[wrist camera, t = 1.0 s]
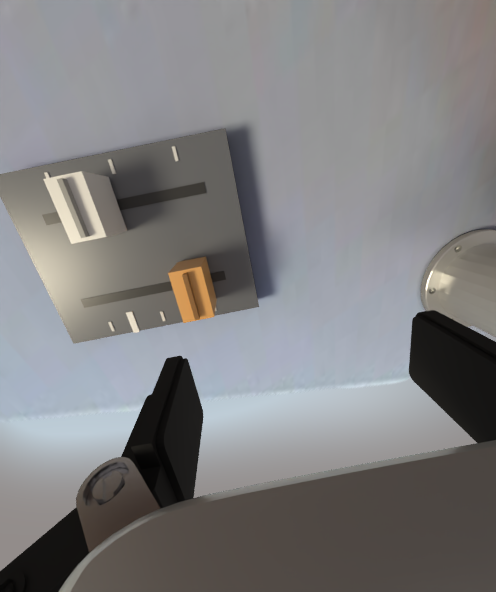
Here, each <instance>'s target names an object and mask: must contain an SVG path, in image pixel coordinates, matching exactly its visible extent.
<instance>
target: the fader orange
mask: <svg viewBox="0 0 496 592" xmlns="http://www.w3.org/2000/svg"><path fill="white" fill-rule="evenodd" d="M168 275H169V278H170V281H171V285H172V288H173V291H174V294H175V297H176V301H177V304H178V307H179V310H180V313H181V317H182V320H183V323H186V322H191V321H196V320H201V319H206V318H211V317H214V315H215V309H216V302H217V299H216V295H215V291H214V287H213V283H212V279H211V275H210V271H209V267H208V263H207V259H206V256H205V257H200V258H195V259H190V260H185V261H180V262H177V264H176V265H175V266H174V267H173V268H172V269H171V270H170V271H169V273H168Z"/></svg>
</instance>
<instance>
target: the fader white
mask: <svg viewBox="0 0 496 592" xmlns="http://www.w3.org/2000/svg"><path fill="white" fill-rule="evenodd" d="M43 180H44V182H45V184H46V187H47V189H48V191H49V194H50V196H51V198H52V201H53V203H54V205H55V207H56V210H57V212H58V214H59V217H60V219H61V221H62V224H63V226H64V228H65V231H66V233H67V235H68V237H69V240H70V242H71V244H74V243H78V242H83V241H88V240H93V239H98V238H103V237H108V236H111V235H115V234H119V233H122V232H126V231H127V229H126V226H125V223H124V220H123V217H122V214H121V212H120V209H119V206H118V203H117V200H116V197H115V194H114V192H113V189H112V186H111V183H110V180H109V177H107V176H102V175H97V174H93V173H88V172H83V171H80V172H75V173H70V174H65V175H61V176H56V177H51V178H46V179H43Z"/></svg>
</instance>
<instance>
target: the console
mask: <svg viewBox="0 0 496 592" xmlns="http://www.w3.org/2000/svg"><path fill="white" fill-rule="evenodd" d="M80 171H83V172H88V173H93V174H97V175H102V176H107V177H109V180H110V183H111V186H112V189H113V192H114V194H115V197H116V200H117V203H118V206H119V209H120V212H121V214H122V217H123V220H124V223H125V226H126V229H127V231H126V232H122V233H119V234H115V235H111V236H108V237H103V238H98V239H93V240H88V241H83V242H78V243H74V244H71V242H70V240H69V237H68V235H67V233H66V231H65V228H64V226H63V224H62V221H61V219H60V217H59V214H58V212H57V210H56V207H55V205H54V203H53V201H52V198H51V196H50V194H49V191H48V189H47V187H46V184H45V182H44V180H43V179H46V178H51V177H56V176H61V175H65V174H70V173H75V172H80ZM0 197H1V199H2V201H3V203H4V205H5V207H6V209H7V211H8V213H9V215H10V217H11V219H12V221H13V223H14V225H15V227H16V229H17V231H18V233H19V235H20V237H21V239H22V241H23V243H24V245H25V247H26V249H27V251H28V253H29V255H30V257H31V259H32V261H33V263H34V265H35V267H36V269H37V271H38V273H39V275H40V277H41V279H42V281H43V283H44V285H45V287H46V289H47V291H48V293H49V295H50V297H51V299H52V301H53V303H54V305H55V307H56V309H57V311H58V313H59V315H60V317H61V319H62V321H63V323H64V325H65V327H66V329H67V331H68V333H69V335H70V337H71V339H72V341H73V343H79V342H84V341H89V340H94V339H99V338H104V337H109V336H114V335H119V334H125V333H130V332H134V333H136V332H140V330H145V329H150V328H155V327H160V326H165V325H170V324H175V323H180V322H183V320H182V317H181V313H180V310H179V307H178V304H177V301H176V297H175V294H174V291H173V288H172V285H171V281H170V278H169V275H168V273H169V271H170V270H171V269H172V268H173V267H174V266H175V265H176V264H177V262H180V261H185V260H190V259H195V258H200V257H205V256H206V259H207V263H208V267H209V271H210V275H211V279H212V283H213V287H214V291H215V295H216V299H217V302H216V309H215V315H220V314H225V313H230V312H235V311H240V310H245V309H250V308H255V307H259V304H258V299H257V294H256V289H255V283H254V278H253V273H252V267H251V262H250V257H249V251H248V246H247V241H246V236H245V230H244V225H243V220H242V214H241V209H240V204H239V198H238V193H237V188H236V182H235V177H234V172H233V167H232V161H231V156H230V151H229V145H228V140H227V135H226V129H220V130H215V131H210V132H205V133H200V134H195V135H190V136H185V137H181V138H176V139H171V140H166V141H161V142H156V143H151V144H146V145H141V146H136V147H132V148H127V149H122V150H117V151H112V152H107V153H102V154H97V155H92V156H87V157H83V158H78V159H73V160H68V161H63V162H58V163H53V164H48V165H43V166H38V167H34V168H29V169H24V170H19V171H14V172H9V173H4V174H0ZM215 315H214V316H215Z"/></svg>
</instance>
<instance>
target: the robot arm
mask: <svg viewBox="0 0 496 592" xmlns="http://www.w3.org/2000/svg"><path fill="white" fill-rule="evenodd" d="M421 299H422V303H423V306H424V308H425V310H426V311H425V312H419V313H417V315H416V317H414V318H413V321H412V335H411V349H410V363H409V374H410V377H411V378H412V380H413V381H414V382H415V383H416V384H417V385H418V386H419V387H420V388H421V389H422V390H424V391H425V392H426V393H427V394H428V395H429V396H430V397H431V398H432V399H433V400H434V401H435V402H436V403H437V404H438V405H439V406H440V407H441V408H442V409H443V410H444V411H445V412H446V413H447V414H448V415H449V416H450V417H451V418H453V420H454V421H455V422H456V423H457V424H458V425H459V426H461V427H462V428H463V429H464V430H465V431H466V432H467V433H468V434H469V435H470V436H471V437H472V438H473V439H474V440H475V441H476V442H477V444H471V445H466V446H460V447H454V448H449V449H444V450H438V451H432V452H427V453H422V454H416V455H410V456H405V457H399V458H394V459H388V460H383V461H378V462H373V463H367V464H361V465H356V466H351V467H345V468H340V469H335V470H329V471H324V472H319V473H314V474H308V475H304V476H298V477H293V478H287V479H282V480H277V481H272V482H267V483H261V484H256V485H251V486H247V487H242V488H237V489H233V490H228V491H223V492H218V493H213V494H209V495H205V496H201V497H197V498H193V496H194V487H195V480H196V472H197V463H198V456H199V447H200V439H201V431H202V423H203V410H202V406H201V403H200V399H199V396H198V393H197V389H196V386H195V383H194V379H193V376H192V372H191V369H190V366H189V362H188V360H187V359H183V358H182V356H177V357H171V358H167V359H166V361H165V363H164V366H163V368H162V371H161V373H160V376H159V378H158V381H157V383H156V386H155V388H154V391H153V393H152V395H149V396H147V398H146V400H145V402H144V405H143V407H142V409H141V412H140V414H139V417H138V419H137V421H136V424H135V426H134V428H133V430H132V433H131V435H130V437H129V440H128V442H127V445H126V447H125V449H124V452H123V454H122V456H121V457H118V458H114V459H111V460H109V461H107V462H105V463H103V464H102V465H100V466H99V467H97V468H96V469H95V470H94V471H93V472H92V473H91V474H90V475H89V476H88V477H87V478H86V479H85V481H84V482H83V484H82V485H81V487H80V489H79V491H78V494H77V497H76V508H75V509H74V510H73V511H71V512H70V513H69V514H68V515H67V516H66V517H64V518H63V519H62V520H61V521H60V522H58V523H57V524H56V525H55V526H54V527H53V528H51V529H50V530H49V531H48V532H47V533H45V534H44V535H43V536H42V537H41V538H39V539H38V540H37V541H36V542H35V543H34V544H32V545H31V546H30V547H29V548H27V549H26V550H25V551H24V552H23V553H22V554H21V555H19V556H18V557H17V558H16V559H14V560H13V561H12V562H11V563H10V564H9V565H7V566H6V567H5V568H4V569H3V570H1V571H0V592H496V342H495V341H493V340H491V339H489V338H487V337H485V336H483V335H481V334H479V333H478V332H476V331H474V330H472V329H470V328H468V327H469V326H475V327H477V328H478V329H480V330H482V331H484V332H486V333H488V334H490V335H492V336H494V337H496V230H491V229H483V230H476V231H471V232H468V233H466V234H463V235H461V236H459V237H457V238H456V239H454V240H452V241H451V242H450V243H448V244H447V245H446V246H445V247H443V248H442V249H441V250H440V251H439V252H438V253H437V255H436V256H435V257H434V258H433V260H432V261H431V263H430V264H429V266H428V268H427V270H426V272H425V274H424V277H423V281H422V285H421Z"/></svg>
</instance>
